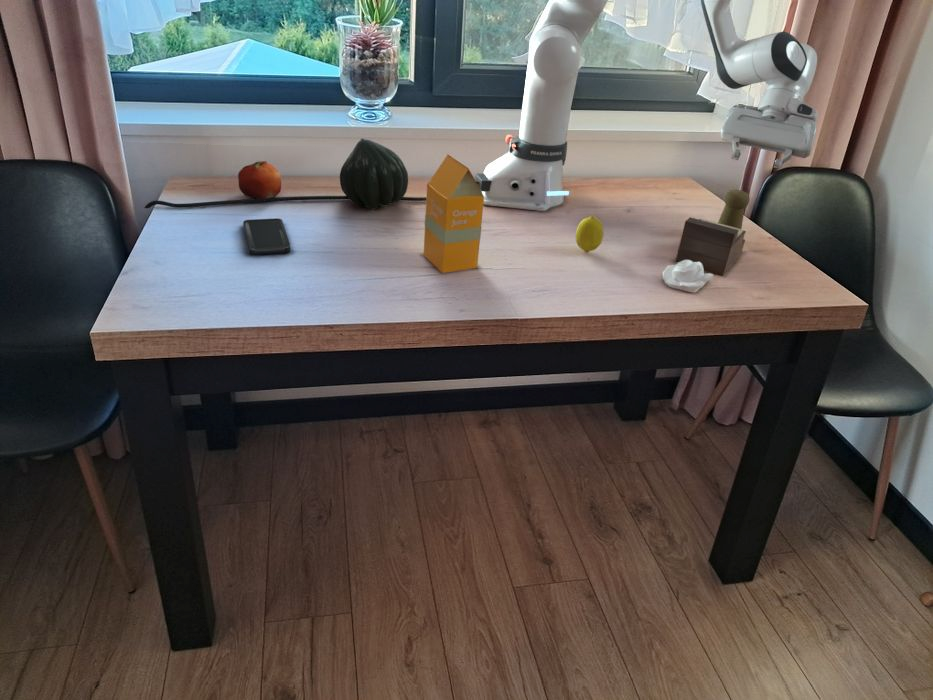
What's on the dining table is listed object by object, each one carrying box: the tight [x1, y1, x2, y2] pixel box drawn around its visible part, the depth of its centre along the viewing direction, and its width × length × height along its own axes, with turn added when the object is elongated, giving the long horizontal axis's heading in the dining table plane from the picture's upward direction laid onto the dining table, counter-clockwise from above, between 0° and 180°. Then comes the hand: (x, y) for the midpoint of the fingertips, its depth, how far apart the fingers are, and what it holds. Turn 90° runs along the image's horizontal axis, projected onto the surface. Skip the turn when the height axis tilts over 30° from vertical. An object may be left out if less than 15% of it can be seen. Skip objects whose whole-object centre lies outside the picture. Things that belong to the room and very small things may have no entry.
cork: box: [717, 189, 751, 230], centre depth 164 cm, size 6×6×11 cm
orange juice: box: [423, 153, 485, 274], centre depth 140 cm, size 8×9×20 cm
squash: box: [339, 138, 409, 210], centre depth 166 cm, size 14×15×15 cm
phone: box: [242, 218, 291, 256], centre depth 147 cm, size 8×1×15 cm
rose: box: [662, 260, 714, 293], centre depth 144 cm, size 10×4×10 cm
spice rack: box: [675, 216, 746, 276], centre depth 155 cm, size 15×10×9 cm, turn 148°
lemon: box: [575, 215, 604, 254], centre depth 152 cm, size 6×6×8 cm
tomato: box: [237, 160, 282, 199], centre depth 164 cm, size 9×9×8 cm
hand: (755, 163), depth 167 cm, fingers open, 8 cm apart
